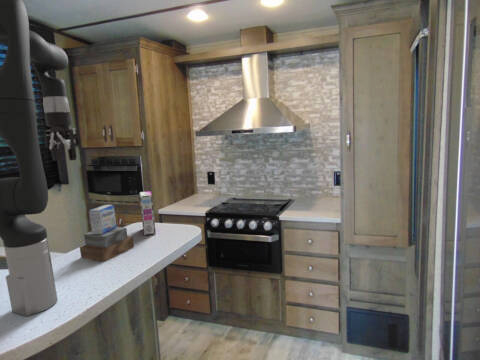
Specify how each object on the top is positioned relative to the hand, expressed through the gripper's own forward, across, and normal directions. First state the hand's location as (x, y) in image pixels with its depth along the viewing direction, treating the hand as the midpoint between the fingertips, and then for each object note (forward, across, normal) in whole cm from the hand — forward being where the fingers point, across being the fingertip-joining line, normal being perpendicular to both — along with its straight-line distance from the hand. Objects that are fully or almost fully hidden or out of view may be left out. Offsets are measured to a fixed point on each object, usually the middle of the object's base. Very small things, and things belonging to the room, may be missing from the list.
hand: (64, 160), depth 116 cm
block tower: (+34, +8, +6) cm, 36 cm away
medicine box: (+26, +8, +6) cm, 28 cm away
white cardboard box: (+34, +6, +30) cm, 46 cm away
